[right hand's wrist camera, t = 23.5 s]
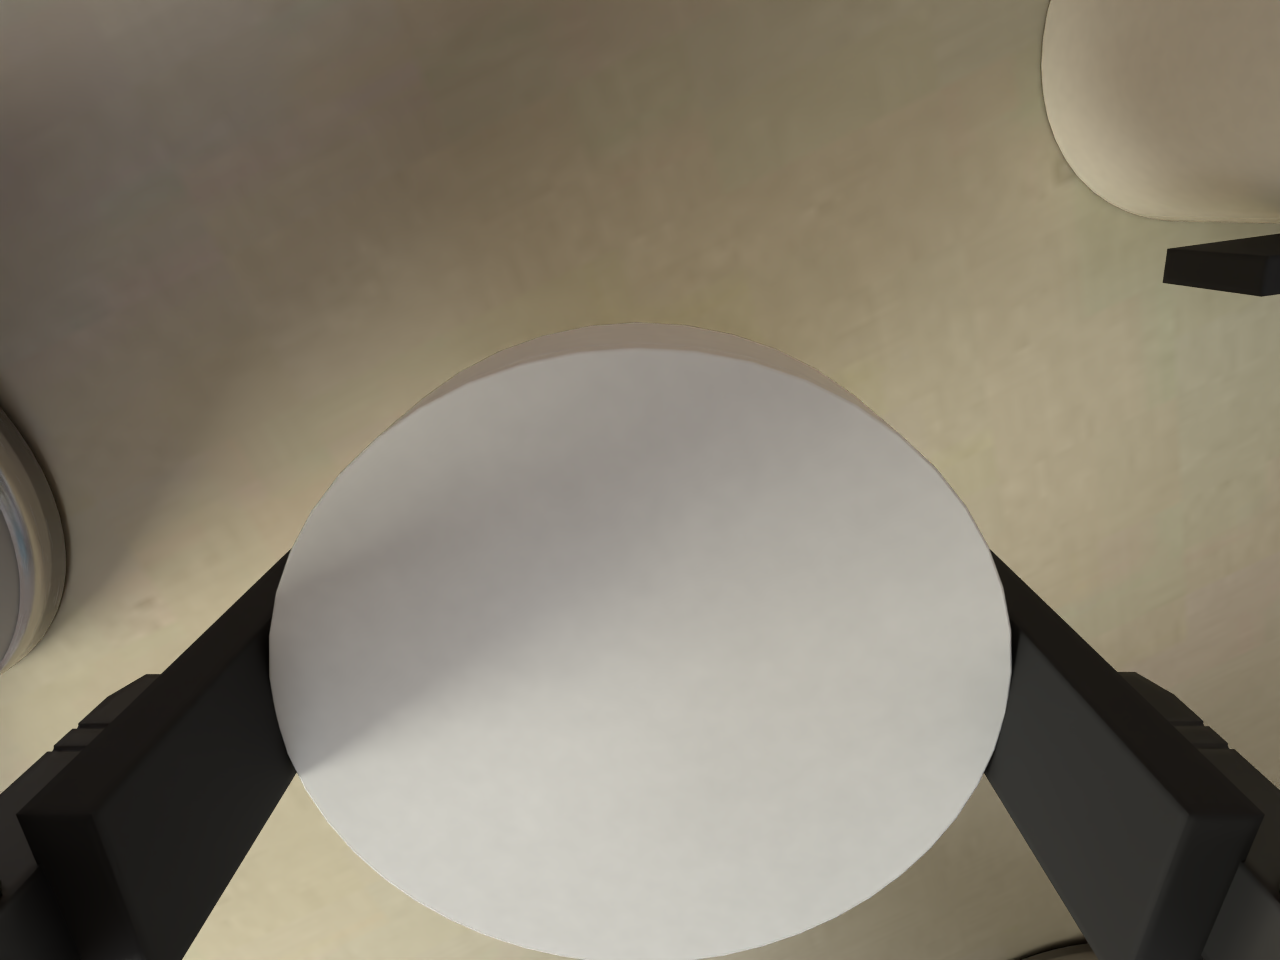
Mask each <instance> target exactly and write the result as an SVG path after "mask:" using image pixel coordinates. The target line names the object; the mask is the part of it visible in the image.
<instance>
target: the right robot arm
mask: <svg viewBox="0 0 1280 960" xmlns="http://www.w3.org/2000/svg"><path fill="white" fill-rule="evenodd" d="M291 549H292V548H291ZM291 549H290V550H289V551H288V552H287V553H286V554H285V555H284V556H283V557H282V558H281V559H280V560H279V561H278V562H277V563H276V564H275V565H274V566H273V567H272V568H271V569H270V570H269V571H268V572H266V573H265V574H264V575H263V576H262V577H261V578H260V579H259V580H258V581H257V582H256V583H255V584H254V585H253V586H252V587H251V588H250V589H249V590H248V591H247V592H246V593H245V594H244V595H243V596H242V597H241V598H240V599H238V600H237V601H236V602H235V603H234V604H233V605H232V606H231V607H230V608H229V609H228V610H227V611H226V612H225V613H224V614H223V615H222V616H221V617H220V618H219V619H218V620H217V621H216V622H215V623H214V624H213V625H212V626H210V627H209V628H208V629H207V630H206V631H205V632H204V633H203V634H202V635H201V636H200V637H199V638H198V639H197V640H196V641H195V642H194V643H193V644H192V645H191V646H190V647H189V648H188V649H187V650H186V651H185V652H183V653H182V654H181V655H180V656H179V657H178V658H177V659H176V660H175V661H174V662H173V663H172V664H171V665H170V666H169V667H168V668H167V669H166V670H165V671H164V672H163V673H162V674H146V675H144V676H142V677H141V678H139V679H137V680H136V681H134V682H132V683H130V684H129V685H127V686H125V687H124V688H122V689H120V690H118V691H117V692H115V693H113V694H112V695H110V696H108V697H107V698H106V699H105V700H104V701H102V702H101V703H100V704H99V705H98V706H97V707H96V708H95V709H94V710H93V711H91V712H90V713H89V714H88V715H87V716H86V717H85V718H84V719H83V720H82V721H80V722H79V723H78V728H77V729H72V730H71V731H69V732H68V733H67V734H66V735H65V736H64V737H63V738H62V739H61V740H60V741H58V742H57V743H56V744H55V745H54V749H53V751H52V752H46V753H45V754H44V755H43V756H42V757H41V758H40V759H39V760H38V761H37V762H35V763H34V764H33V765H32V766H31V767H30V768H29V769H28V770H27V771H26V772H24V773H23V774H22V775H21V776H20V777H19V778H18V779H17V780H16V781H15V782H13V783H12V784H11V785H10V786H9V787H8V788H7V789H6V790H5V791H4V792H2V793H1V794H0V960H182V959H183V957H184V955H185V954H186V952H187V951H188V949H189V947H190V946H191V944H192V942H193V941H194V939H195V937H196V936H197V934H198V933H199V931H200V929H201V928H202V926H203V924H204V923H205V921H206V920H207V918H208V916H209V915H210V913H211V911H212V910H213V908H214V906H215V905H216V903H217V902H218V900H219V898H220V897H221V895H222V893H223V892H224V890H225V889H226V887H227V885H228V884H229V882H230V880H231V879H232V877H233V875H234V874H235V872H236V871H237V869H238V867H239V866H240V864H241V862H242V861H243V859H244V858H245V856H246V854H247V853H248V851H249V849H250V848H251V846H252V844H253V843H254V841H255V840H256V838H257V836H258V835H259V833H260V831H261V830H262V828H263V827H264V825H265V823H266V822H267V820H268V818H269V817H270V815H271V813H272V812H273V810H274V809H275V807H276V805H277V804H278V802H279V800H280V799H281V797H282V796H283V794H284V792H285V791H286V789H287V787H288V786H289V784H290V782H291V781H292V779H293V778H294V776H295V774H296V773H297V771H296V769H295V767H294V765H293V763H292V761H291V759H290V757H289V755H288V753H287V750H286V747H285V743H284V740H283V737H282V734H281V731H280V728H279V724H278V720H277V716H276V711H275V707H274V702H273V696H272V690H271V684H270V678H269V634H270V628H271V621H272V615H273V609H274V603H275V597H276V592H277V589H278V586H279V583H280V580H281V577H282V574H283V571H284V568H285V565H286V562H287V559H288V556H289V553H290V551H291ZM990 552H991V555H992V558H993V560H994V563H995V566H996V569H997V572H998V574H999V577H1000V580H1001V583H1002V585H1003V589H1004V594H1005V600H1006V605H1007V611H1008V616H1009V622H1010V627H1011V653H1012V674H1011V681H1010V688H1009V695H1008V701H1007V706H1006V710H1005V715H1004V719H1003V723H1002V726H1001V730H1000V734H999V737H998V740H997V743H996V747H995V750H994V752H993V754H992V756H991V758H990V760H989V763H988V765H987V767H986V769H985V771H984V774H985V775H986V777H987V778H988V780H989V782H990V783H991V785H992V787H993V788H994V790H995V792H996V793H997V795H998V796H999V798H1000V800H1001V801H1002V803H1003V805H1004V806H1005V808H1006V809H1007V811H1008V813H1009V814H1010V816H1011V818H1012V819H1013V821H1014V823H1015V824H1016V826H1017V827H1018V829H1019V831H1020V832H1021V834H1022V836H1023V837H1024V839H1025V840H1026V842H1027V844H1028V845H1029V847H1030V849H1031V850H1032V852H1033V854H1034V855H1035V857H1036V858H1037V860H1038V862H1039V863H1040V865H1041V867H1042V868H1043V870H1044V871H1045V873H1046V875H1047V876H1048V878H1049V880H1050V881H1051V883H1052V885H1053V886H1054V888H1055V889H1056V891H1057V893H1058V894H1059V896H1060V898H1061V899H1062V901H1063V902H1064V904H1065V906H1066V907H1067V909H1068V911H1069V912H1070V914H1071V916H1072V917H1073V919H1074V920H1075V922H1076V924H1077V925H1078V927H1079V929H1080V930H1081V932H1082V933H1083V935H1084V937H1085V938H1086V940H1087V942H1088V943H1089V945H1090V947H1091V948H1092V950H1093V951H1094V953H1095V955H1096V956H1097V958H1098V960H1203V959H1204V960H1280V790H1279V789H1278V788H1277V787H1276V786H1274V785H1273V784H1272V783H1271V782H1270V781H1269V780H1268V779H1267V778H1266V777H1264V776H1263V775H1262V774H1261V773H1260V772H1259V771H1258V770H1257V769H1256V768H1255V767H1253V766H1252V765H1251V764H1250V763H1249V762H1248V761H1247V760H1246V759H1245V758H1243V757H1242V756H1241V755H1240V754H1239V753H1238V752H1237V751H1236V750H1235V749H1229V748H1228V743H1227V742H1226V741H1225V740H1224V739H1222V738H1221V737H1220V736H1219V735H1218V734H1217V733H1216V732H1215V731H1214V730H1212V729H1211V728H1210V727H1209V726H1204V725H1203V720H1201V719H1200V718H1199V717H1198V716H1197V715H1196V714H1195V713H1194V712H1193V711H1191V710H1190V709H1189V708H1188V707H1187V706H1186V705H1185V704H1184V703H1183V702H1182V701H1180V700H1179V699H1178V698H1177V697H1176V696H1175V695H1174V694H1172V693H1170V692H1169V691H1167V690H1165V689H1163V688H1162V687H1160V686H1158V685H1156V684H1155V683H1153V682H1151V681H1150V680H1148V679H1146V678H1144V677H1143V676H1141V675H1139V674H1138V673H1136V672H1117V671H1116V670H1115V669H1114V668H1113V667H1112V666H1110V665H1109V664H1108V663H1107V662H1106V661H1105V660H1104V659H1103V658H1102V657H1101V656H1100V655H1099V654H1098V653H1097V652H1096V651H1095V650H1094V649H1093V648H1092V647H1091V646H1090V645H1089V644H1088V643H1087V642H1086V641H1085V640H1084V639H1082V638H1081V637H1080V636H1079V635H1078V634H1077V633H1076V632H1075V631H1074V630H1073V629H1072V628H1071V627H1070V626H1069V625H1068V624H1067V623H1066V622H1065V621H1064V620H1063V619H1062V618H1061V617H1060V616H1059V615H1058V614H1057V613H1056V612H1054V611H1053V610H1052V609H1051V608H1050V607H1049V606H1048V605H1047V604H1046V603H1045V602H1044V601H1043V600H1042V599H1041V598H1040V597H1039V596H1038V595H1037V594H1036V593H1035V592H1034V591H1033V590H1032V589H1031V588H1030V587H1029V586H1027V585H1026V584H1025V583H1024V582H1023V581H1022V580H1021V579H1020V578H1019V577H1018V576H1017V575H1016V574H1015V573H1014V572H1013V571H1012V570H1011V569H1010V568H1009V567H1008V566H1007V565H1006V564H1005V563H1004V562H1003V561H1002V560H1001V559H999V558H998V557H997V556H996V555H995V554H994V553H993V552H992V551H991V550H990ZM65 574H66V551H65V542H64V534H63V529H62V524H61V520H60V515H59V512H58V509H57V506H56V503H55V500H54V497H53V494H52V491H51V489H50V487H49V484H48V482H47V480H46V478H45V475H44V473H43V471H42V469H41V467H40V465H39V464H38V462H37V460H36V458H35V456H34V454H33V453H32V451H31V449H30V448H29V446H28V445H27V443H26V441H25V440H24V438H23V437H22V435H21V434H20V432H19V431H18V429H17V428H16V427H15V425H14V424H13V423H12V421H11V420H10V419H9V418H8V416H7V415H6V414H5V412H4V411H3V410H2V408H1V407H0V675H2V674H3V673H4V672H6V671H7V670H8V669H10V668H11V667H12V666H14V665H15V664H16V663H18V662H19V661H21V660H22V659H23V658H24V657H25V656H26V655H27V654H28V653H29V652H30V651H31V650H33V649H34V647H35V646H36V645H37V644H38V642H39V641H40V640H41V639H42V638H43V636H44V635H45V633H46V631H47V630H48V628H49V627H50V625H51V623H52V621H53V619H54V617H55V614H56V612H57V610H58V607H59V604H60V600H61V597H62V593H63V589H64V581H65Z"/></svg>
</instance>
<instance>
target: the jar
mask: <svg viewBox="0 0 1280 960" xmlns="http://www.w3.org/2000/svg"><path fill="white" fill-rule="evenodd" d="M1041 71H1042V87H1043V96H1044V101H1045V106H1046V112H1047V117H1048V120H1049V123H1050V126H1051V129H1052V132H1053V135H1054V138H1055V140H1056V142H1057V144H1058V146H1059V148H1060V150H1061V152H1062V154H1063V156H1064V158H1065V160H1066V161H1067V162H1068V164H1069V165H1070V166H1071V168H1072V169H1073V171H1074V172H1075V173H1076V175H1077V176H1078V177H1079V178H1080V179H1081V180H1082V181H1083V182H1084V183H1085V184H1086V185H1087V186H1088V187H1089V188H1090V189H1091V190H1092V191H1093V192H1094V193H1096V194H1097V195H1099V196H1100V197H1101V198H1103V199H1104V200H1106V201H1107V202H1109V203H1110V204H1112V205H1114V206H1116V207H1118V208H1120V209H1123V210H1125V211H1127V212H1129V213H1132V214H1136V215H1139V216H1143V217H1146V218H1151V219H1159V220H1167V221H1193V222H1238V223H1280V0H1051V1H1050V4H1049V8H1048V11H1047V17H1046V23H1045V29H1044V35H1043V44H1042V63H1041Z"/></svg>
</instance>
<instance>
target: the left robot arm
mask: <svg viewBox="0 0 1280 960" xmlns="http://www.w3.org/2000/svg"><path fill="white" fill-rule="evenodd" d="M1163 283H1168V284H1176V285H1183V286H1190V287H1197V288H1204V289H1211V290H1219V291H1226V292H1233V293H1240V294H1247V295H1255V296H1268V295H1276V294H1280V234H1274V235H1266V236H1259V237H1252V238H1244V239H1237V240H1229V241H1222V242H1215V243H1207V244H1200V245H1192V246H1185V247H1178V248H1170V249H1167V256H1166V263H1165V270H1164V277H1163ZM1023 960H1098V958H1097V956H1096V955H1095V953H1094V951H1093V950H1092V948H1091V947H1090V945H1089V944H1081V945H1075V946H1069V947H1064V948H1059V949H1055V950H1051V951H1047V952H1044V953H1040V954H1037V955H1034V956H1031V957H1028V958H1026V959H1023Z"/></svg>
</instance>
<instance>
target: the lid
mask: <svg viewBox="0 0 1280 960" xmlns="http://www.w3.org/2000/svg"><path fill="white" fill-rule="evenodd" d="M1011 674H1012V653H1011V627H1010V622H1009V616H1008V611H1007V605H1006V600H1005V594H1004V589H1003V585H1002V583H1001V580H1000V577H999V574H998V572H997V569H996V566H995V563H994V560H993V558H992V555H991V552H990V549H989V546H988V545H987V543H986V541H985V539H984V537H983V536H982V534H981V532H980V530H979V528H978V527H977V525H976V523H975V521H974V519H973V518H972V516H971V514H970V512H969V510H968V509H967V507H966V505H965V504H964V503H963V502H962V500H961V499H960V498H959V496H958V495H957V494H956V493H955V491H954V490H953V489H952V488H951V486H950V485H949V484H948V483H947V481H946V480H945V479H944V477H943V476H942V475H941V474H940V472H939V471H938V470H937V469H936V468H935V467H934V466H933V465H932V464H931V463H930V462H929V461H928V460H927V459H926V458H925V457H924V456H923V455H922V454H920V453H919V452H918V451H917V450H916V449H915V448H914V447H913V446H912V445H911V444H910V443H909V442H908V441H907V440H905V439H904V438H903V437H902V436H901V435H900V434H899V433H898V432H897V431H896V430H894V429H893V428H892V427H891V426H890V425H888V424H887V423H886V422H885V421H884V420H883V419H881V418H880V417H879V416H878V415H877V414H876V413H874V412H873V411H872V410H871V409H870V408H869V407H867V406H866V405H865V404H864V403H863V402H862V401H860V400H859V399H858V398H857V397H856V396H855V395H853V394H852V393H850V392H849V391H847V390H846V389H845V388H843V387H842V386H840V385H839V384H837V383H836V382H834V381H833V380H832V379H830V378H829V377H827V376H826V375H824V374H823V373H821V372H820V371H819V370H817V369H815V368H813V367H811V366H809V365H807V364H805V363H803V362H801V361H799V360H797V359H795V358H793V357H791V356H789V355H787V354H785V353H783V352H781V351H779V350H777V349H774V348H771V347H768V346H766V345H763V344H760V343H757V342H754V341H751V340H748V339H745V338H742V337H739V336H736V335H733V334H729V333H723V332H718V331H713V330H708V329H703V328H698V327H692V326H687V325H675V324H657V323H640V322H635V323H622V324H608V325H595V326H587V327H582V328H577V329H573V330H568V331H563V332H558V333H554V334H549V335H544V336H541V337H538V338H535V339H532V340H530V341H527V342H524V343H521V344H518V345H516V346H513V347H510V348H507V349H504V350H502V351H499V352H497V353H495V354H493V355H491V356H489V357H487V358H485V359H484V360H482V361H480V362H478V363H476V364H474V365H472V366H470V367H468V368H466V369H464V370H463V371H461V372H459V373H457V374H456V375H454V376H453V377H452V378H450V379H449V380H448V381H446V382H445V383H443V384H442V385H441V386H439V387H438V388H436V389H435V390H434V391H432V392H431V393H429V394H428V395H427V396H425V397H424V398H422V399H421V400H420V401H419V402H418V403H417V404H415V405H414V406H413V407H412V408H411V409H410V410H408V411H407V412H406V413H405V414H404V415H403V416H401V417H400V418H399V419H398V420H397V421H396V422H394V423H393V424H392V425H391V426H390V427H389V428H387V429H386V430H385V431H384V432H383V433H381V434H380V435H379V436H378V437H377V438H376V439H375V440H374V441H373V442H372V443H371V444H370V445H368V446H367V447H366V448H365V449H364V450H363V451H362V452H361V453H360V454H359V455H358V456H357V457H356V458H355V459H354V460H353V461H352V462H351V463H350V464H349V465H348V466H347V467H346V468H345V469H344V470H343V471H342V472H341V473H340V474H339V475H338V477H337V478H336V479H335V481H334V482H333V483H332V485H331V486H330V487H329V488H328V490H327V491H326V492H325V494H324V495H323V496H322V498H321V499H320V500H319V502H318V503H317V504H316V506H315V507H314V508H313V510H312V511H311V513H310V515H309V517H308V519H307V520H306V522H305V524H304V526H303V528H302V530H301V532H300V534H299V536H298V537H297V539H296V541H295V543H294V545H293V547H292V549H291V551H290V553H289V556H288V559H287V562H286V565H285V568H284V571H283V574H282V577H281V580H280V583H279V586H278V589H277V592H276V597H275V603H274V609H273V615H272V621H271V628H270V634H269V678H270V684H271V690H272V696H273V702H274V707H275V711H276V716H277V720H278V724H279V728H280V731H281V734H282V737H283V740H284V743H285V747H286V750H287V753H288V755H289V757H290V759H291V761H292V763H293V765H294V767H295V769H296V771H297V773H298V775H299V777H300V780H301V782H302V784H303V786H304V788H305V790H306V791H307V793H308V794H309V795H310V797H311V798H312V800H313V801H314V803H315V804H316V806H317V807H318V809H319V810H320V812H321V813H322V815H323V816H324V818H325V819H326V821H327V822H328V823H329V824H330V825H331V827H332V828H333V829H334V830H335V831H336V832H337V833H338V834H339V836H340V837H341V838H342V839H343V840H344V841H345V842H346V844H347V845H348V846H349V847H350V848H351V849H352V850H353V851H354V852H355V853H356V854H357V855H358V856H359V857H360V858H361V859H363V860H364V861H365V862H366V863H367V864H368V865H369V866H370V867H371V868H373V869H374V870H375V871H376V872H377V873H378V874H379V875H380V876H382V877H383V878H384V879H386V880H387V881H388V882H390V883H391V884H393V885H394V886H395V887H397V888H398V889H400V890H401V891H402V892H404V893H405V894H407V895H408V896H409V897H411V898H412V899H414V900H415V901H417V902H419V903H421V904H422V905H424V906H426V907H428V908H430V909H431V910H433V911H435V912H437V913H438V914H440V915H442V916H444V917H446V918H447V919H449V920H451V921H454V922H456V923H458V924H461V925H463V926H465V927H467V928H470V929H472V930H474V931H477V932H479V933H481V934H484V935H486V936H489V937H492V938H495V939H498V940H501V941H504V942H508V943H511V944H514V945H517V946H520V947H523V948H527V949H531V950H536V951H540V952H545V953H549V954H554V955H558V956H563V957H570V958H578V959H586V960H696V959H703V958H710V957H717V956H723V955H728V954H732V953H736V952H740V951H745V950H749V949H753V948H757V947H762V946H765V945H768V944H771V943H774V942H777V941H779V940H782V939H785V938H788V937H791V936H794V935H797V934H800V933H802V932H805V931H807V930H809V929H811V928H813V927H816V926H818V925H820V924H822V923H825V922H827V921H829V920H831V919H833V918H836V917H837V916H839V915H841V914H843V913H844V912H846V911H848V910H850V909H851V908H853V907H855V906H857V905H858V904H860V903H862V902H863V901H865V900H867V899H869V898H870V897H872V896H873V895H874V894H876V893H877V892H879V891H880V890H881V889H883V888H884V887H885V886H887V885H888V884H890V883H891V882H892V881H894V880H895V879H896V878H898V877H899V876H901V875H902V874H903V873H904V872H905V871H906V870H907V869H908V868H910V867H911V866H912V865H913V864H914V863H915V862H916V861H917V860H918V859H919V858H920V857H921V856H923V855H924V854H925V853H926V852H927V851H928V850H929V849H930V848H931V847H932V846H933V845H934V844H935V842H936V841H937V840H938V839H939V838H940V837H941V835H942V834H943V833H944V832H945V831H946V830H947V828H948V827H949V826H950V825H951V824H952V823H953V821H954V820H955V819H956V818H957V816H958V815H959V813H960V812H961V810H962V809H963V807H964V806H965V804H966V803H967V801H968V800H969V798H970V796H971V795H972V793H973V792H974V790H975V789H976V787H977V786H978V784H979V782H980V780H981V777H982V775H983V773H984V771H985V769H986V767H987V765H988V763H989V760H990V758H991V756H992V754H993V752H994V750H995V747H996V743H997V740H998V737H999V734H1000V730H1001V726H1002V723H1003V719H1004V715H1005V710H1006V706H1007V701H1008V695H1009V688H1010V681H1011Z"/></svg>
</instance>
